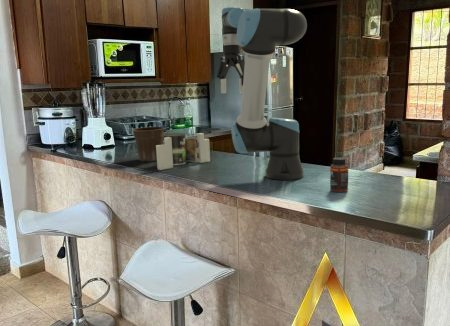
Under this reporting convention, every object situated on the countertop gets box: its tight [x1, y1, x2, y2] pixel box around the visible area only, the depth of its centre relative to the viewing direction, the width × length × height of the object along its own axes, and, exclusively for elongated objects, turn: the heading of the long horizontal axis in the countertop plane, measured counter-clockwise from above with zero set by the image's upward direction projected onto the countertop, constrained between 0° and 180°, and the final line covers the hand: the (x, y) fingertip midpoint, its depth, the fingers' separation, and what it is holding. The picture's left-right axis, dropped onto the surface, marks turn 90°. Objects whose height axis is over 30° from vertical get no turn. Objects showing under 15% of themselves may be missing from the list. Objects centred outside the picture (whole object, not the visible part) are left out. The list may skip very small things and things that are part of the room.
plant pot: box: [131, 126, 165, 163], centre depth 215 cm, size 16×16×16 cm
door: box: [185, 137, 198, 162], centre depth 208 cm, size 13×3×11 cm, turn 64°
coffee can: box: [163, 133, 187, 166], centre depth 202 cm, size 10×10×14 cm
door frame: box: [156, 132, 211, 171], centre depth 197 cm, size 2×28×14 cm, turn 128°
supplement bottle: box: [329, 157, 349, 193], centre depth 143 cm, size 6×6×11 cm
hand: (232, 93), depth 190 cm, fingers open, 13 cm apart
